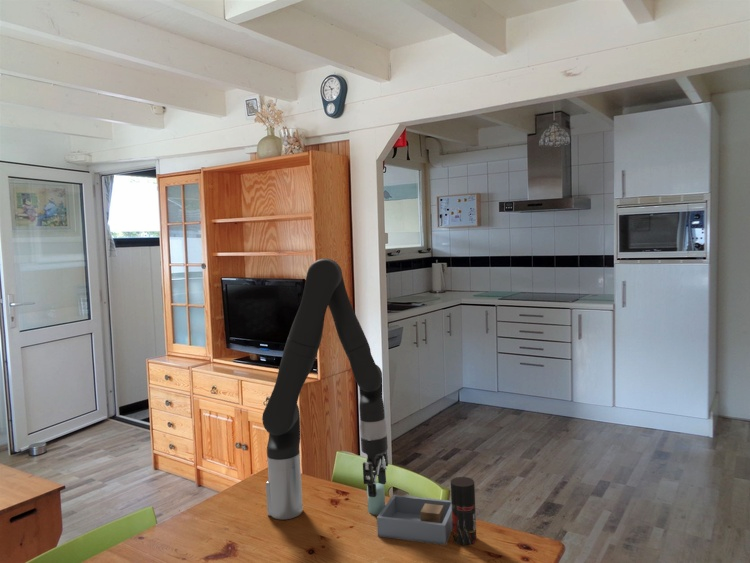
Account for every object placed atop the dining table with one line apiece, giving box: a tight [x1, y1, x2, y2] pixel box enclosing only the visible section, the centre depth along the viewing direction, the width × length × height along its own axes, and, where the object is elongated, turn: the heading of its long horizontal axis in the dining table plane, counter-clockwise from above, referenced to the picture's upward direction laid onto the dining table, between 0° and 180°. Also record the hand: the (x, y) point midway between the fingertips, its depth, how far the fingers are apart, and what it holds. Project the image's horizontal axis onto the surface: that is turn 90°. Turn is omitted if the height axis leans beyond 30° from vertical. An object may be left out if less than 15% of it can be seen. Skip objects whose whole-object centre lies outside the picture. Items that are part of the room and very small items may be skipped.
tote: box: [376, 494, 453, 546], centre depth 147 cm, size 18×14×5 cm
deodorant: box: [450, 476, 477, 547], centre depth 140 cm, size 6×6×15 cm
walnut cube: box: [420, 503, 444, 523], centre depth 146 cm, size 5×5×5 cm
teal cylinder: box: [366, 482, 386, 516], centre depth 158 cm, size 5×5×7 cm
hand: (377, 489), depth 158 cm, fingers open, 8 cm apart
